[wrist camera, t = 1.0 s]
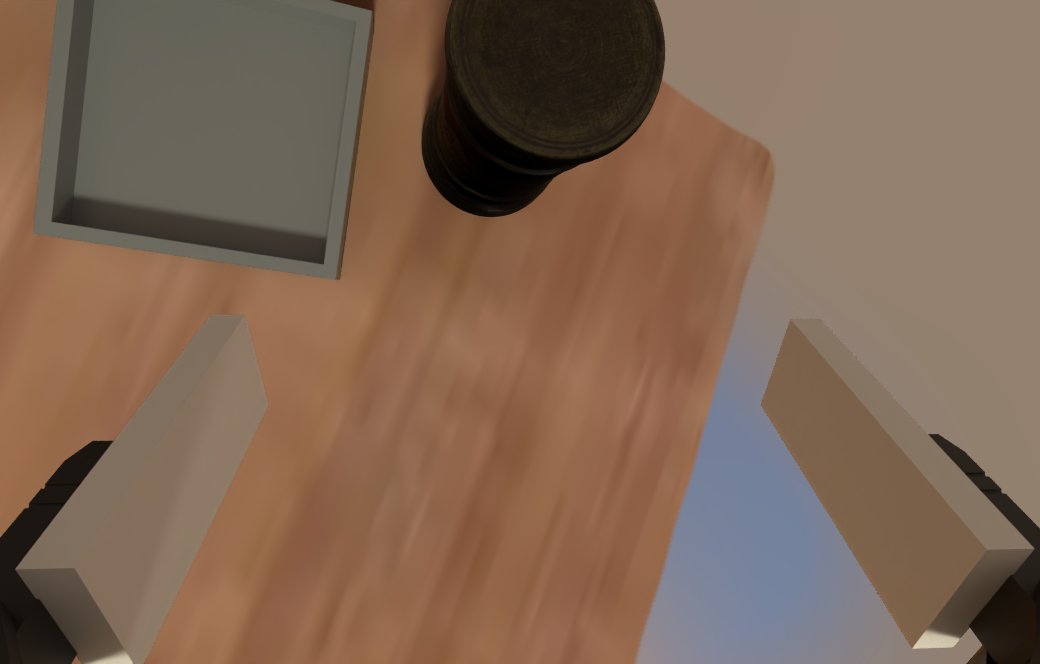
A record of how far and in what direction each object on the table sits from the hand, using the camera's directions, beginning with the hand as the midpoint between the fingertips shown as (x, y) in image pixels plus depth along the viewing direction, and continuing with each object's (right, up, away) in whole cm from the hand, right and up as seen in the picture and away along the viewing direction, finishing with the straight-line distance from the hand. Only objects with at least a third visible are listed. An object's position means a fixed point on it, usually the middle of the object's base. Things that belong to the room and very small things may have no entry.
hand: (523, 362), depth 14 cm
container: (-2, +13, +24) cm, 28 cm away
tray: (-18, +13, +21) cm, 31 cm away
